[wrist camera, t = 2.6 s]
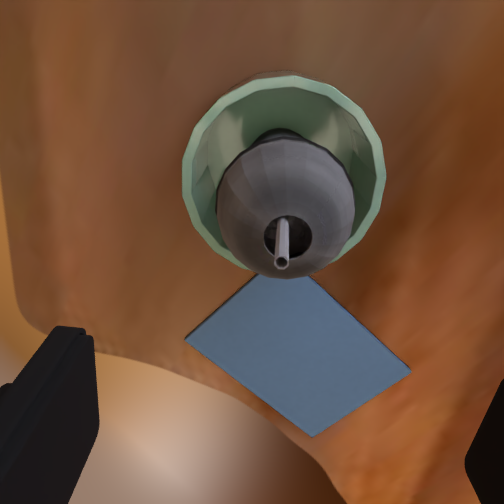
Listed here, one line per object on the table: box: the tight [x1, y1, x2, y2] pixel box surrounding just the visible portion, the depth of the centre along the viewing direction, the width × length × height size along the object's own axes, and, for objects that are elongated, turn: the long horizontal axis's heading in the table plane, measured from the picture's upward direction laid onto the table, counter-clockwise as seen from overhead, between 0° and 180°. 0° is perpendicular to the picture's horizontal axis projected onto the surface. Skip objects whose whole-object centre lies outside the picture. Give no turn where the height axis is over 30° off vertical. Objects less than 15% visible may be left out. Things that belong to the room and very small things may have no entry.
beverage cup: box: [215, 128, 355, 280], centre depth 23 cm, size 7×7×20 cm
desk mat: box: [185, 274, 411, 438], centre depth 40 cm, size 18×13×1 cm
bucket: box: [182, 70, 386, 270], centre depth 29 cm, size 12×12×8 cm
